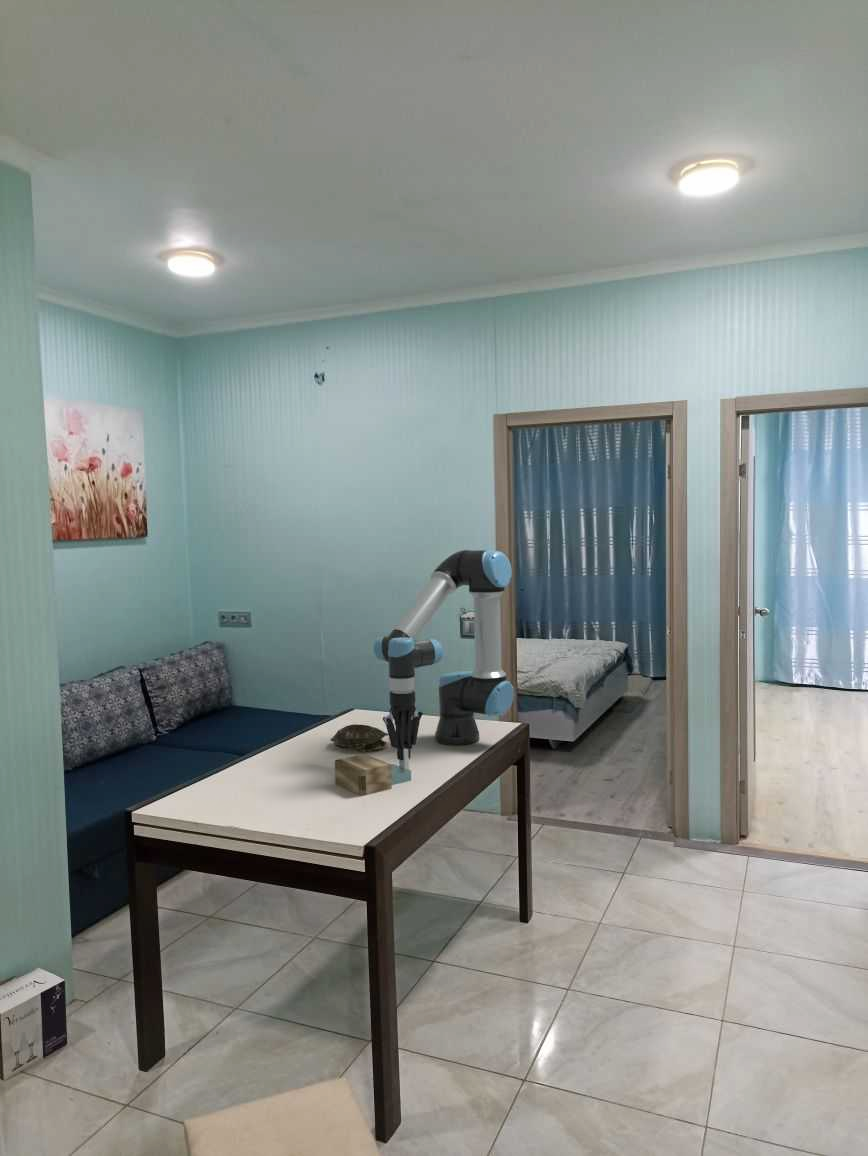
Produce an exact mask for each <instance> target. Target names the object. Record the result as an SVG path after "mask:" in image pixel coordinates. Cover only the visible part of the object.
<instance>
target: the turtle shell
mask: <svg viewBox="0 0 868 1156" xmlns="http://www.w3.org/2000/svg"><path fill="white" fill-rule="evenodd" d="M386 736H389V735H388V732H385V731H383V730H381V729H379V728H378V727H375V726H370V725H367V724H355V723H354V724H350V725H346V726H343V727H342V728H341V729H338V730H337V731H336V732H335V734H334V735H333V736H332V738H330V739H329V741H331V742H333V745H335V747H337V748H339V749H342V750H350V751H355V752H361V753H362V752H369V751H374V750H378V751H379V750H382V749H384V748H386V747H387V745H388V743H387V741H383V738H384V737H386Z"/></svg>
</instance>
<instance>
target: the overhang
mask: <svg viewBox="0 0 868 1156" xmlns="http://www.w3.org/2000/svg"><path fill="white" fill-rule="evenodd" d="M391 764H392V763H389V762H387V761H384V760H382V759H379V758H376V757H374V756H371V755H368V754H366V753H361V754H357V755H352V756H348V757H343V758H338V759H334V778H335V779H334V780H335V781H334V782H335V785H337V786H340V787H342V789H346V790H348V791H350V792H352V793H354V794H357V795H359V796H360V797H363V796H368V795H372V794H374V793H378V792H379V793H380V792H383V791H384V792H385V791H388V790H392V789H393V787H392V786H393V785H392V778H391Z"/></svg>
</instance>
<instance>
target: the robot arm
mask: <svg viewBox="0 0 868 1156" xmlns="http://www.w3.org/2000/svg"><path fill="white" fill-rule="evenodd" d="M510 562H511V561H510V559H509V558H508V557H507V556H506V554H505V553H503V552H502V551H499V550H493V549H492V550H491V549H487V550H485V549H484V550H479V549H478V550H477V549H476V550H469V549H465V550H464V549H463V550H459V551H457V552H454V553H452V554H451V555H449V556H448V557H447V558H445V559H444V560H442V562H440V564H439V565H437V567H436V568H435V569H434V570H433V572H432V573H431V574H430V580H429V582H428V583H427V584H426V586H425V587H424V589H423V590H422V591H421V592H420V594H419V595H418V596H417V598H416V599H415V601H414V602H412V604H411V606H410V607H409V608H408V610H407V611H406V612H405V613H404V615H403V616H402V617H401V619H400V620H399V621H398V623H397V624H396V625H395V626H394V628H393V630H391V632H390V633H389V635H388V636H386V635H385V636H380V637H378V638H377V639H376V640H375V642H374V644H373V653H374V655H375V657H376V659H378V660H380V661H384V662H387V663H388V674H389V675H388V680H389V681H388V683H389V685H388V686H389V691H390V692H389V705H390V709H389V714H388V715H386V716H383V717H382V721H383V723H384V724H385V726H386V730H387V734H388V735H387V736H388V739H389V743H390V746H391V748H394V749H396V755H397V760H398V761H399V765H398V766H400V767H403V768H405V769H408V770H410V765H409V763H410V762H409V759H411V749H413V746H414V745H416V744H417V739H418V734H419V727H420V722H421V719H422V716H423V711H420V710H418V709H416V706H415V704H416V692H415V691H414V690H416V676H415V674H416V671H415V670H416V669H417V668H423V667H426V666H432V665H435V664H437V663H439V662H441V660H442V659H443V657H444V649H443V646H442V643H440V642H439V641H438V640H436V639H425V640H418V639H417V638H418V637H419V636H420V635H421V633H422V631H423V630H424V629H425V627H426V626H427V624H428V623H429V622H430V621H431V619H432V618H433V616H434V615H435V614H436V613H437V611H438V610H439V608H441V606H442V605H443V603H444V602H445V600H446V599H447V597H448V596H449V595H450V594H453V593H455V592H456V591H457V590H458V589H459V588H460V587H462V586H468V592H469V594H470V595H471V596H472V597H473V617H474V618H473V619H474V620H473V621H474V623H473V625H474V664H475V669H474V670H473V671H470V670H464V671H461V670H460V671H454V672H452V671H451V672H448V673H447V672H446V673H444V674H441V675H440V676H439V681H438V682H439V684H438V697H439V698H438V699H439V700H438V701H439V719H438V723H437V726H436V731H435V732H434V741H435V742H437V743H439V744H443V745H448V746H449V745H452V746H459V745H460V746H464V745H471V744H475V743H478V742H479V740H480V731H479V728H478V725H477V722H476V718H475V714H479V715H480V714H481V715H486V716H490V717H492V716H494V717H502V716H503V715H505V714H506V713H507V712H508V711H509V709H510V708H511V706H512V705H513V702H514V697H515V689H514V686H513V684H512V683H511V682H509V681H508V680H507V673H506V672H505V671H504V670H503V669H502V634H501V633H502V631H501V596H502V595H503V594H504V593H505V590H506V589H505V588H506V587H507V586H508V585H509V584H510V582H511V579H512V575H513V574H512V573H513V572H512V571H513V570H512V565H511V563H510Z"/></svg>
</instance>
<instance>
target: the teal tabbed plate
mask: <svg viewBox="0 0 868 1156" xmlns="http://www.w3.org/2000/svg"><path fill="white" fill-rule="evenodd" d="M390 764H391V778H392V786H394V785H399V784H403V783H408V782H411V781H412V770H411V769H409V770H408V769H405V768H403V767H400V766H399V765H397V764H394V763H390Z"/></svg>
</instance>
